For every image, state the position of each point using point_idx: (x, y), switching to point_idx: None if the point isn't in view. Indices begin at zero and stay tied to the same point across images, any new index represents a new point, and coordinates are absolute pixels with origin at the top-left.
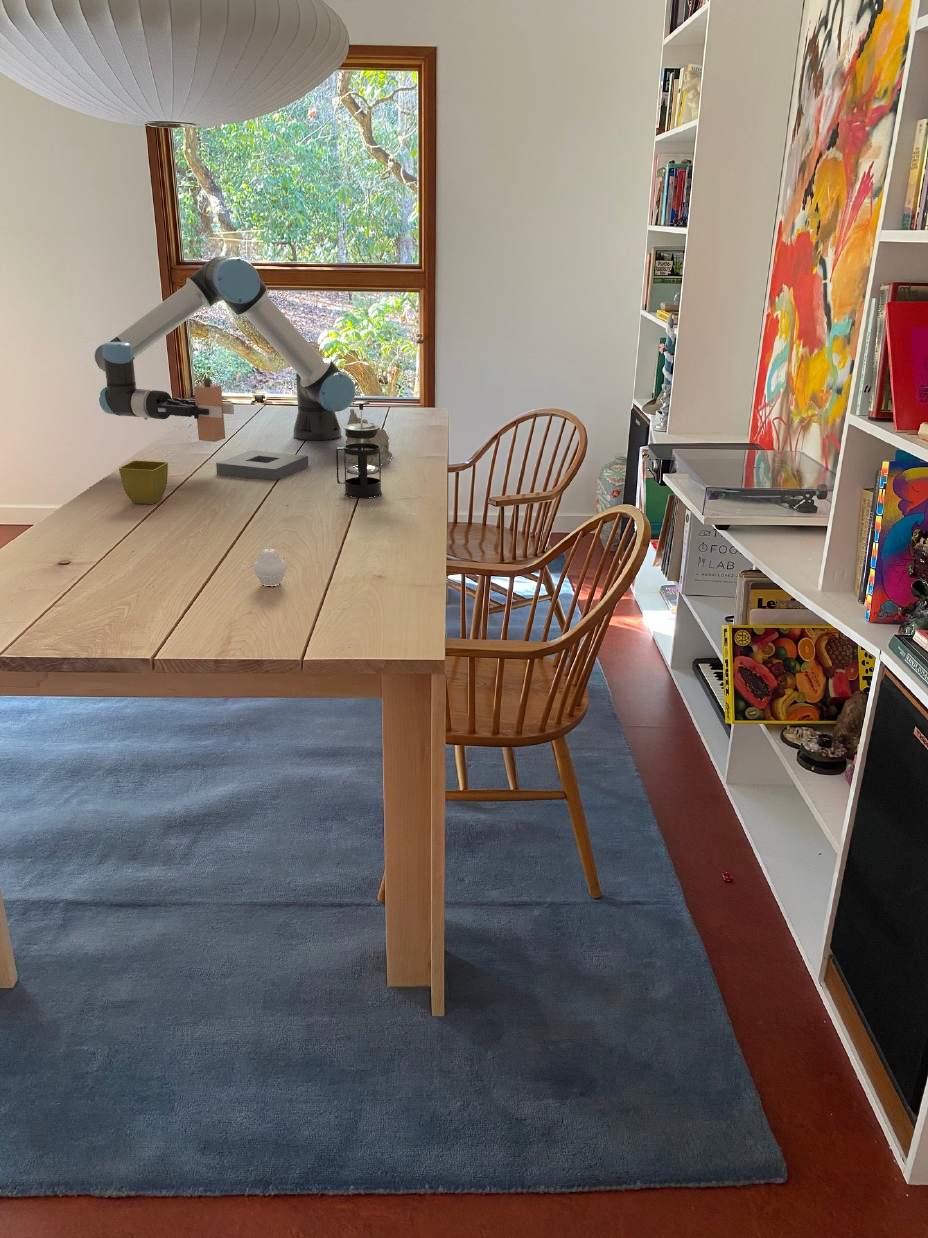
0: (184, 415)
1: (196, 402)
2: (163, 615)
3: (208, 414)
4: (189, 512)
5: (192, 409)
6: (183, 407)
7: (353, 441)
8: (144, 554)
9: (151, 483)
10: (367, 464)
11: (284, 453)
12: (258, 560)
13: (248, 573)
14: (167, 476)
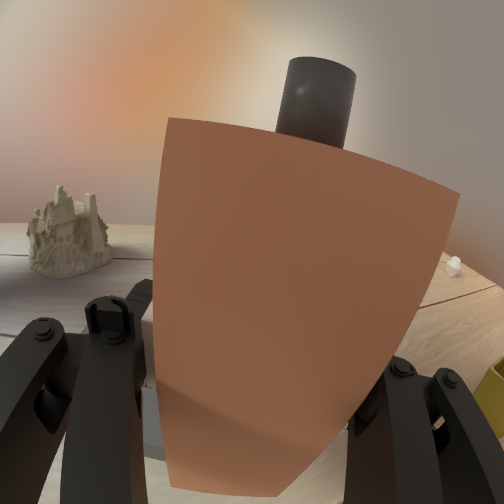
0: (437, 445)
1: (381, 357)
2: (493, 292)
3: None
4: (453, 359)
5: (421, 379)
6: (476, 406)
7: (68, 240)
8: (498, 327)
9: (501, 373)
10: (110, 257)
11: (85, 329)
12: (460, 264)
13: (455, 283)
14: (477, 388)
